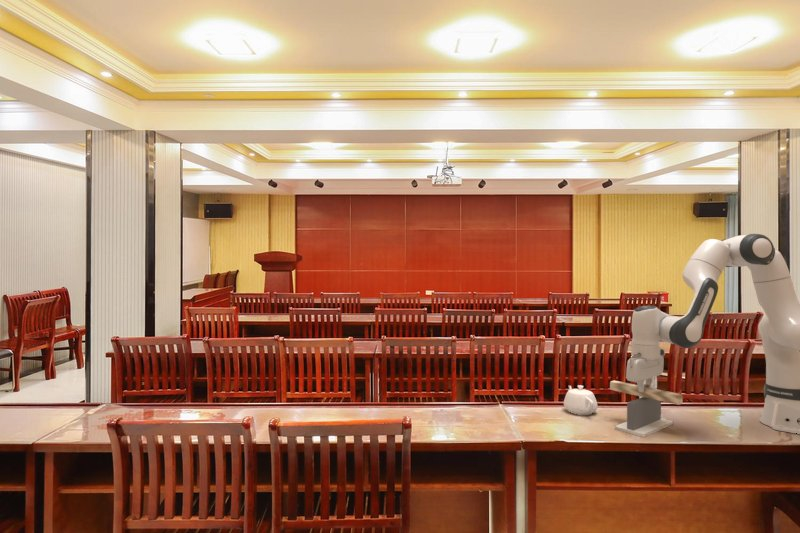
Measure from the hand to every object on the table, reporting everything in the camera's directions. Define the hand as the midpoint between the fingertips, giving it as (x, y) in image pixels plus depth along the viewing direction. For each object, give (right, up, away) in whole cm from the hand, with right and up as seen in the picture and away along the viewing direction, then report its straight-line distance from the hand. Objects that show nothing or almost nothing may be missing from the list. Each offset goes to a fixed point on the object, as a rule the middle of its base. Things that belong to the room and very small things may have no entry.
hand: (644, 390), depth 174 cm
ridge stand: (0, -13, 0) cm, 13 cm away
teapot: (-16, -13, +18) cm, 27 cm away
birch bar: (0, -2, 0) cm, 2 cm away
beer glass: (+11, -13, +20) cm, 26 cm away
